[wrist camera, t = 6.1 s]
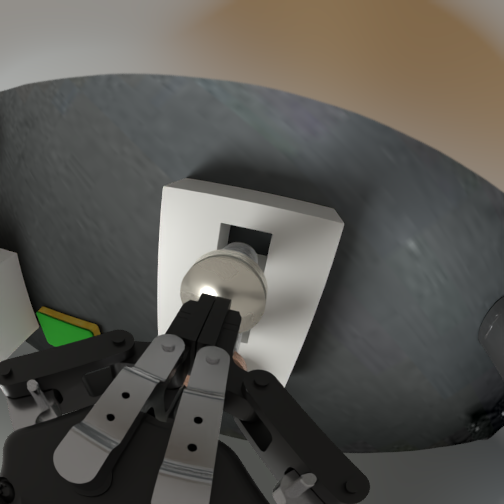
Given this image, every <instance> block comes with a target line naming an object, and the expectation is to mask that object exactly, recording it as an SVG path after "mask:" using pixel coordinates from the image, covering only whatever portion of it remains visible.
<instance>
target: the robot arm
mask: <svg viewBox="0 0 504 504" xmlns="http://www.w3.org/2000/svg"><path fill="white" fill-rule="evenodd" d="M231 301H232V300H231V299H227V298H223V297H219V296H214V295H210V294H206V293H202V294H201V296H200V298H199V300H198V301H194V300H189V301H187V302H186V303H184V304H183V305H182V307H181V308H180V310H179V312H178V313H177V315H176V317H175V318H174V320H173V321H172V323H171V325H170V326H169V328H168V330H167V331H166V333H165V334H162V335H159V336H157V337H156V338H155V339H154V340H153V341H152V342H138V341H134V337H133V336H132V334H130V333H129V332H127V331H124V330H114V331H110V332H107V333H103V334H100V335H96V336H93V337H90V338H86V339H83V340H79V341H76V342H72V343H68V344H65V345H61V346H57V347H54V348H50V349H46V350H43V351H39V352H35V353H31V354H28V355H23V356H19V357H15V358H11V359H7V360H3V361H1V362H0V388H1V389H2V391H3V393H4V395H5V396H6V398H7V404H8V409H9V413H10V418H11V422H12V426H13V429H14V432H12V433H11V434H10V435H9V436H8V438H7V439H6V441H5V444H4V447H3V464H2V469H1V473H0V504H269V502H268V501H267V500H266V498H265V497H264V495H263V494H262V493H261V491H260V490H259V488H258V487H257V485H256V484H255V482H254V481H253V479H252V478H251V476H250V475H249V473H248V471H247V470H246V468H245V467H244V465H243V464H242V462H241V461H240V459H239V458H238V456H237V455H236V454H235V452H234V451H233V450H232V449H231V448H229V447H228V446H227V445H226V444H224V443H223V442H221V441H220V440H218V438H219V432H220V425H221V418H222V412H223V411H225V412H227V413H229V414H231V415H233V416H234V420H235V422H236V423H237V425H238V426H239V428H240V429H241V431H242V432H243V434H244V435H245V437H246V438H247V440H248V441H249V443H250V444H251V445H252V447H253V448H254V450H255V451H256V452H257V454H258V455H259V457H260V458H261V459H262V461H263V462H264V463H265V465H266V466H267V467H268V469H269V470H270V471H271V473H272V474H273V475H274V476H275V478H276V479H277V480H278V483H277V484H276V485H275V486H274V488H273V497H274V499H275V501H276V503H277V504H357V503H358V502H360V501H362V500H363V499H364V498H366V496H367V495H368V493H369V490H370V484H369V480H368V479H367V477H366V476H365V475H364V474H363V473H362V472H361V471H360V470H359V469H358V468H357V467H356V466H355V465H354V464H353V463H352V462H351V461H350V460H349V459H348V458H347V457H346V456H345V455H344V454H343V453H342V452H341V450H340V449H339V448H338V447H337V446H336V445H335V444H334V443H333V442H332V441H331V440H330V439H329V438H328V437H327V436H326V434H325V433H324V432H323V431H322V430H321V429H320V428H319V427H318V426H317V425H316V423H315V422H314V421H313V420H312V419H311V418H310V417H309V416H308V414H307V413H306V412H305V411H304V410H303V409H302V408H301V406H300V405H299V404H298V403H297V402H296V401H295V399H294V398H293V397H292V396H291V395H290V394H289V392H288V391H287V390H286V389H285V388H284V387H283V385H282V384H281V383H280V382H279V381H278V379H277V378H276V377H275V376H274V375H273V374H272V373H270V372H268V371H265V370H260V369H257V370H252V371H249V372H247V371H245V370H243V369H242V368H240V367H239V366H238V365H237V364H236V363H235V362H234V360H233V355H234V351H235V347H236V343H237V339H238V334H239V330H240V325H241V320H242V318H241V315H240V312H239V311H235V310H230V307H231ZM478 339H479V342H480V344H481V345H482V347H483V348H484V350H485V351H486V353H487V354H488V356H489V357H490V359H491V360H492V362H493V364H494V365H495V367H496V368H497V370H498V372H499V373H500V375H501V377H502V378H503V380H504V297H502V298H501V299H500V300H499V301H497V302H496V303H495V305H494V306H493V307H492V308H491V309H490V311H489V312H488V313H487V315H486V317H485V318H484V320H483V322H482V324H481V327H480V330H479V335H478ZM107 366H109V368H106V369H103V370H100V371H97V372H94V373H91V374H88V375H85V374H86V373H88V372H91V371H94V370H97V369H101V368H104V367H107ZM187 375H189V376H190V378H189V382H188V385H187V388H185V389H184V391H183V394H182V397H181V400H180V404H179V407H178V411H177V414H176V418H175V421H174V423H168V422H167V418H168V416H169V414H170V412H171V410H172V408H173V406H174V404H175V402H176V400H177V399H178V397H179V395H180V393H181V391H182V389H183V386H184V382H185V379H186V377H187ZM78 409H79V410H78ZM75 410H76V411H75ZM72 411H73V412H72ZM69 412H71V413H69ZM65 413H68V414H65ZM62 414H65V415H62Z"/></svg>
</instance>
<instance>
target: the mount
mask: <svg viewBox="0 0 504 504" xmlns="http://www.w3.org/2000/svg"><path fill="white" fill-rule="evenodd" d="M231 225H235V226H239V227H244V228H249V229H253V230H258V231H262V232H267V233H271V234H272V237H271V242H270V246H269V251H268V255H267V256H265V255H260V254H257V257H258V266H259V267H260V268H261V270H262V271H263V273H264V275H265V277H266V280H267V286H268V293H267V299H266V305H265V311H264V314H263V316H262V318H261V320H260V321H259V322H258V323H257V324H256V325H255V326H254V327H253V328H251V329H250V330H248V331H246V332H243V333H242V339H241V343H240V347H239V350H238V354H239V355H241V357H242V358H243V359H244V361H245V363H246V365H247V372H249V371H252V370H257V369H260V370H265V371H268V372H270V373H272V374H273V375H274V376H275V377H276V378H277V379H278V381H279V382H280V383H281V384H282V385H283V387H285V385H286V383H287V381H288V378H289V376H290V374H291V372H292V369H293V367H294V365H295V362H296V360H297V357H298V355H299V353H300V350H301V348H302V345H303V343H304V340H305V338H306V335H307V333H308V330H309V328H310V325H311V322H312V320H313V317H314V314H315V312H316V309H317V306H318V303H319V301H320V298H321V295H322V292H323V289H324V287H325V284H326V281H327V278H328V275H329V272H330V269H331V266H332V263H333V260H334V257H335V253H336V250H337V247H338V244H339V241H340V237H341V234H342V231H343V227H344V222H343V221H342V220H341V218H340V217H339V215H338V214H337V212H336V211H335V209H333V208H330V207H326V206H322V205H317V204H313V203H309V202H305V201H301V200H296V199H292V198H288V197H283V196H279V195H274V194H270V193H265V192H260V191H255V190H250V189H245V188H240V187H235V186H230V185H224V184H219V183H213V182H208V181H202V180H196V179H190V178H184V179H181V180H178V181H176V182H173V183H170V184H167V185H165V186H163V193H162V204H161V217H160V232H159V252H158V336H159V335H162V334H165V333H166V331H167V330H168V328H169V326H170V325H171V323H172V321H173V320H174V318H175V317H176V315H177V313H178V312H179V310H180V308H181V307H182V305H183V304H182V301H181V296H180V288H181V283H182V280H183V278H184V276H185V275H186V273H187V272H188V271H189V269H190V268H191V267H192V265H193V264H194V263H195V262H196V260H197V259H198V258H200V257H201V256H202V255H204V254H206V253H208V252H211V251H214V250H221V249H223V248H224V247H225V246H226V245H227V244H228V238H229V232H230V226H231Z"/></svg>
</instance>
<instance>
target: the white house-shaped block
mask: <svg viewBox="0 0 504 504" xmlns="http://www.w3.org/2000/svg"><path fill="white" fill-rule="evenodd" d="M38 328H39V325H38V322H37V319H36V317H35V314H34V311H33V308H32V305H31V302H30V299H29V296H28V293H27V290H26V286H25V283H24V279H23V276H22V272H21V268H20V264H19V260H18V255H17V253H15V252H12V251H8V250H5V249H2V248H0V362H1V361H3V360H6V359H7V358H8V357H9V356H10V355H11V354H12V353H13V352H14V351H15V350H16V349H17V348H18V347H19V346H20V345H21V344H22V343H23V342H24V341H25V340H26V339H27V338H28V337H29V336H30V335H31V334H32V333H33V332H34V331H35V330H36V329H38Z"/></svg>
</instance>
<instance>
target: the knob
mask: <svg viewBox="0 0 504 504" xmlns="http://www.w3.org/2000/svg"><path fill="white" fill-rule="evenodd" d="M202 293H206V294H210V295H214V296H219V297H223V298H227V299H231V300H232V301H231V307H230V310H235V311H239V312H240V315H241V318H242V320H241V325H240V330H239V333H243V332H246V331H248V330H250V329H251V328H253V327H254V326H255V325H256V324H257V323H258V322H259V321H260V320H261V318H262V316H263V314H264V311H265V305H266V299H267V293H268V286H267V280H266V277H265V275H264V273H263V271H262V270H261V268H260V267H259V266H258V257H257V254H256V252H255V250H254V249H253V248H252V247H251V246H249V245H248V244H246V243H242V242H233V243H230V244H228V245H226V246H225V247H224V248H223V249H221V250H214V251H211V252H208V253H206V254H204V255H202V256H201V257H200V258H198V259H197V260H196V262H195V263H194V264H193V265H192V267H191V268H190V269H189V271H188V272H187V273H186V275H185V276H184V278H183V280H182V283H181V288H180V296H181V301H182V304H184V303H186V302H187V301H189V300H194V301H198V300H199V298H200V296H201V294H202Z"/></svg>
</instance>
